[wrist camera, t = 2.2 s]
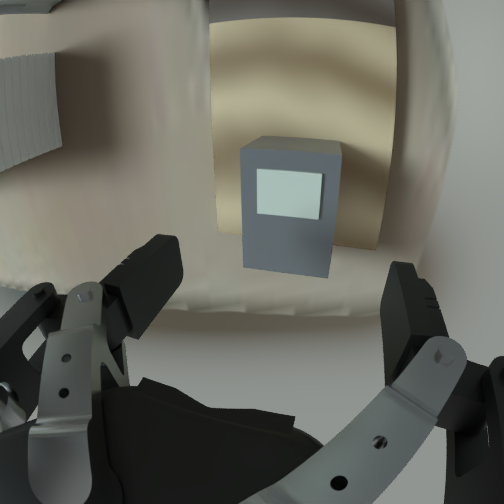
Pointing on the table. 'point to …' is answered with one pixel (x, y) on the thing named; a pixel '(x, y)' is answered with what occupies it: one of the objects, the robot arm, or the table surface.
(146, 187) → the table surface
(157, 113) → the table surface
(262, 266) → the block
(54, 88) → the white rectangular block
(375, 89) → the board
